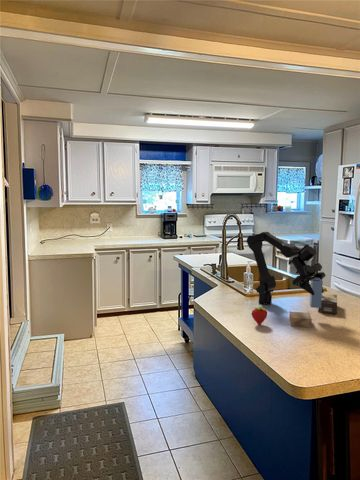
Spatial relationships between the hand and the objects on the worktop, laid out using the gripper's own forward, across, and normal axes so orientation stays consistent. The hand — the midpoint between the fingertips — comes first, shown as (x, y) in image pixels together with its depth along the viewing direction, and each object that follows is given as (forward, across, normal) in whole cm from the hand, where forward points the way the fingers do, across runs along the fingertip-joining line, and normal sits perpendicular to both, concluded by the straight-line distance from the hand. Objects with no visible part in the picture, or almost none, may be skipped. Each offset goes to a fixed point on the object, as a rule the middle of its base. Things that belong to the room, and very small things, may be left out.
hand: (318, 293), depth 176 cm
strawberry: (+3, -28, +17) cm, 33 cm away
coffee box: (-2, +26, +17) cm, 31 cm away
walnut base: (+8, -10, +10) cm, 17 cm away
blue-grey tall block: (+4, 0, +6) cm, 7 cm away
